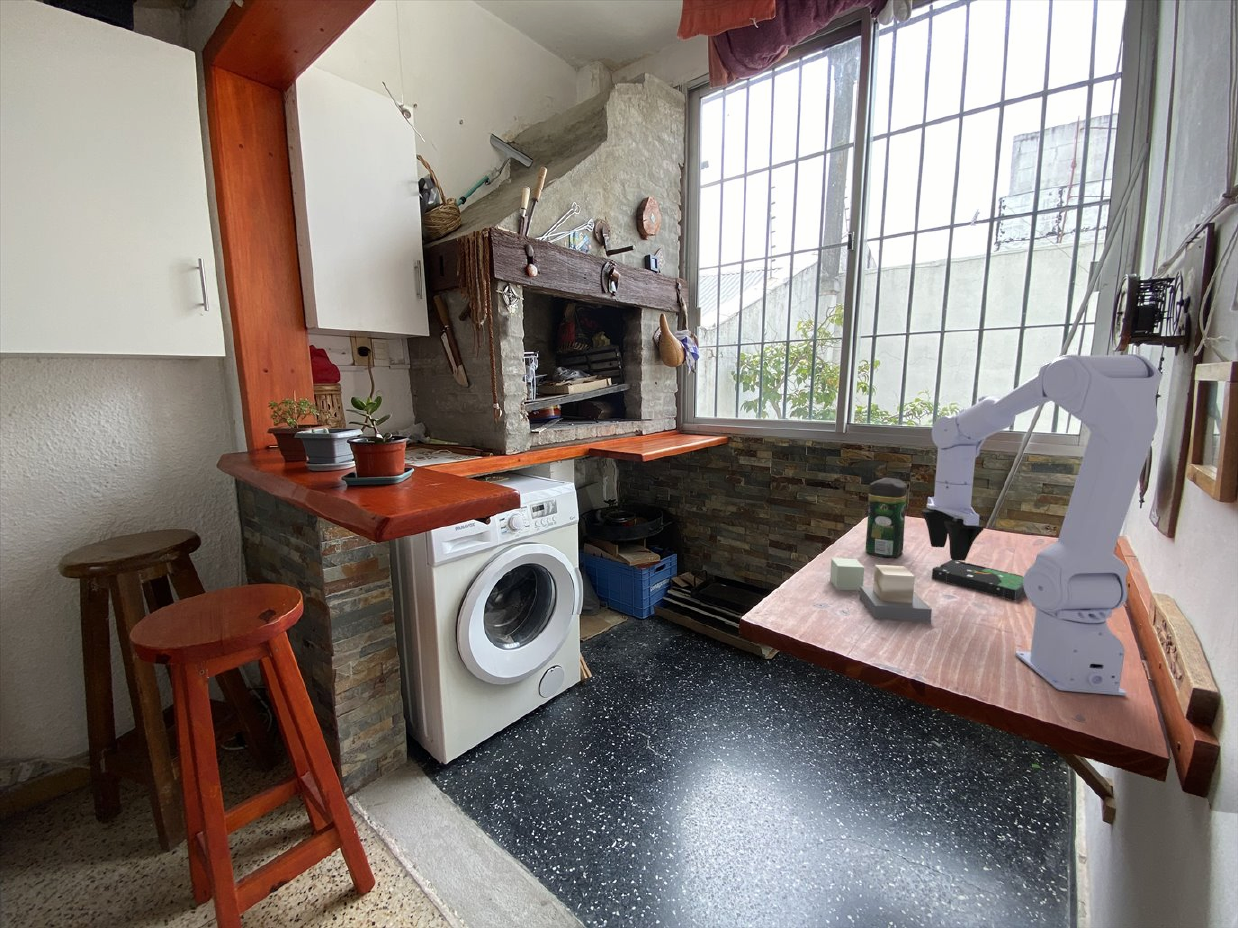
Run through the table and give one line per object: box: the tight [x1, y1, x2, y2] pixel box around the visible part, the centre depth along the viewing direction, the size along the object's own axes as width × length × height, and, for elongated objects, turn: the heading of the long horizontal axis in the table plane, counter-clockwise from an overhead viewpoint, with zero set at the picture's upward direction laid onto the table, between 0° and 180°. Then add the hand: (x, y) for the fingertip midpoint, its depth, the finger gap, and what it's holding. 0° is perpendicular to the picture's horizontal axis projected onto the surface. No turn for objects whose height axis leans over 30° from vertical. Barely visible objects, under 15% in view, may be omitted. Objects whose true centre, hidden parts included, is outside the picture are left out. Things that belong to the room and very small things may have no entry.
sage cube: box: [829, 557, 865, 592], centre depth 101 cm, size 5×5×5 cm
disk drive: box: [931, 559, 1026, 602], centre depth 101 cm, size 10×3×15 cm
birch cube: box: [872, 564, 916, 603], centre depth 89 cm, size 5×5×5 cm
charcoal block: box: [859, 585, 933, 624], centre depth 89 cm, size 9×9×3 cm
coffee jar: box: [865, 477, 908, 558], centre depth 120 cm, size 10×8×19 cm
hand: (947, 553), depth 92 cm, fingers open, 7 cm apart
